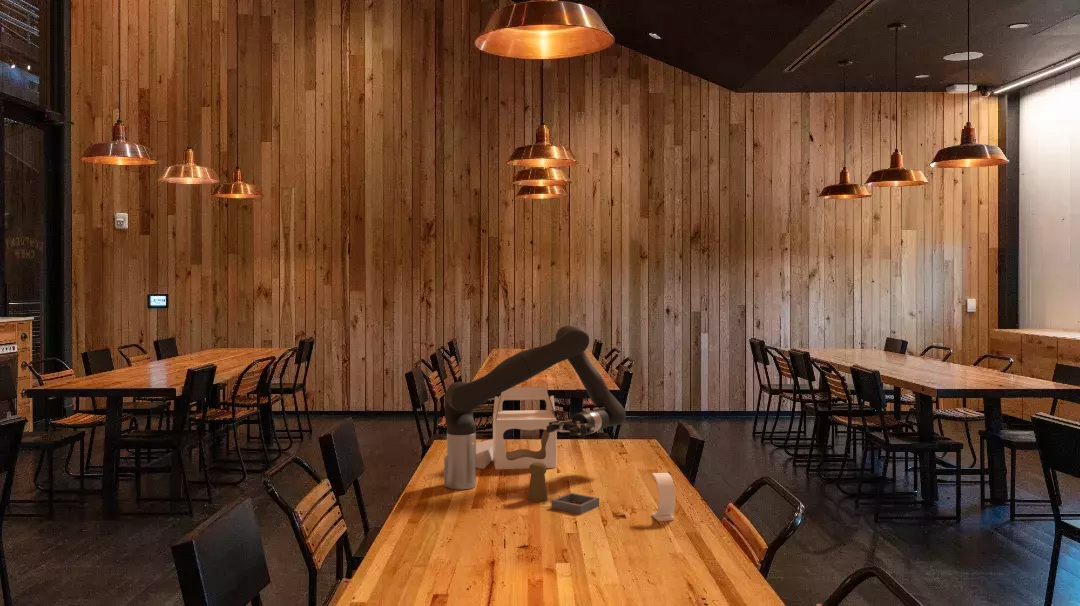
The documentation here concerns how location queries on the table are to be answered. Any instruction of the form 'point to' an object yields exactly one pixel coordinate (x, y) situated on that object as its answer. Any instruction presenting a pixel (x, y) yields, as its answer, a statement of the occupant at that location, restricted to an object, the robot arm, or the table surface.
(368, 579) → the table surface
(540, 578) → the table surface
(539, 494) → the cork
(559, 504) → the square frame
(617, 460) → the table surface
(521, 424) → the gable box
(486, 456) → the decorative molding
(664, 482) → the white curved bracket
